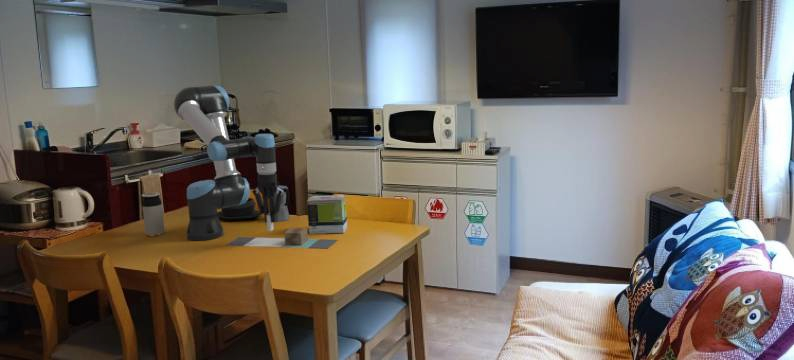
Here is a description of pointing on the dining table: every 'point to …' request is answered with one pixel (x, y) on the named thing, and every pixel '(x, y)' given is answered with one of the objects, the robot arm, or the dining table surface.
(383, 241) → the dining table surface
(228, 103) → the robot arm
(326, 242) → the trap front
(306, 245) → the pad
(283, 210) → the coffeepot
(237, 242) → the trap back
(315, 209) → the tea box
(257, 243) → the tile
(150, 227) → the travel mug
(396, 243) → the dining table surface
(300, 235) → the walnut block
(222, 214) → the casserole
